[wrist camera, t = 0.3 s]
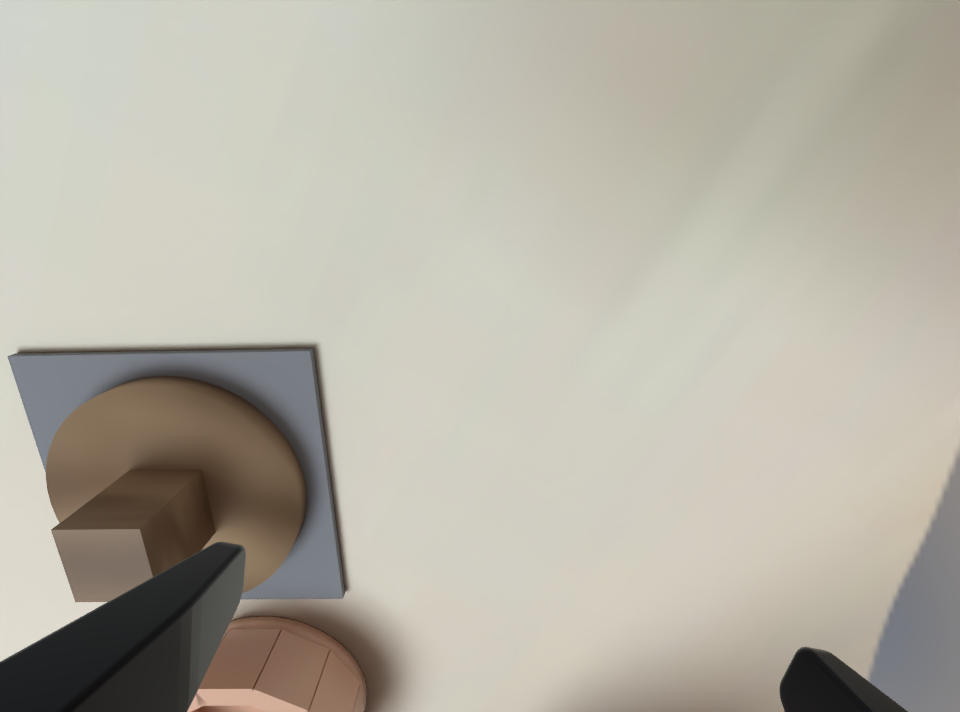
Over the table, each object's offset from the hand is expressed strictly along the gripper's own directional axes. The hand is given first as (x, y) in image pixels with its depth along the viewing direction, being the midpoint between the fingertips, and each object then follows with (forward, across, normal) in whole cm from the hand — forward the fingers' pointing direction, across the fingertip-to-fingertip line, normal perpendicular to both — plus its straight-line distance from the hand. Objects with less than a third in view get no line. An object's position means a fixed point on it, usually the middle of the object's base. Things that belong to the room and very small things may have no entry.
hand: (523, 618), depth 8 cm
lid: (+14, +13, +9) cm, 21 cm away
